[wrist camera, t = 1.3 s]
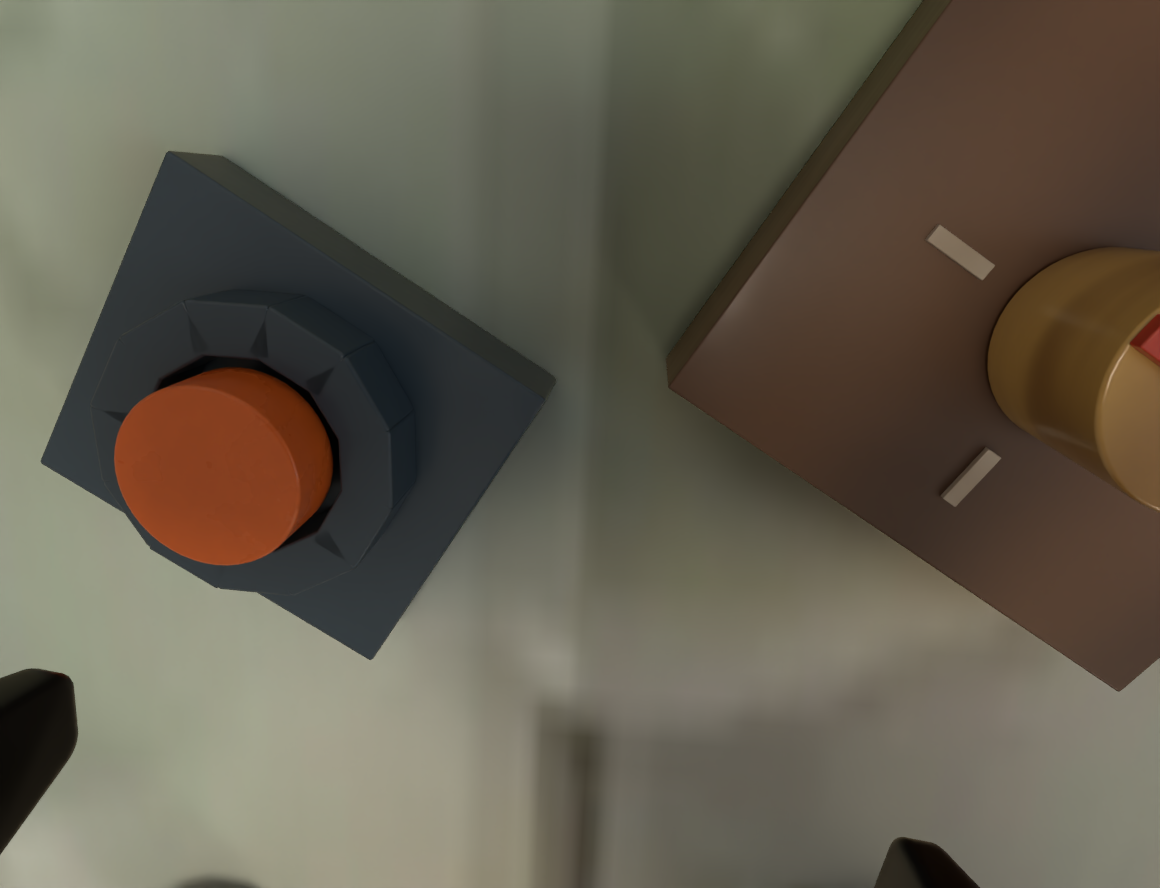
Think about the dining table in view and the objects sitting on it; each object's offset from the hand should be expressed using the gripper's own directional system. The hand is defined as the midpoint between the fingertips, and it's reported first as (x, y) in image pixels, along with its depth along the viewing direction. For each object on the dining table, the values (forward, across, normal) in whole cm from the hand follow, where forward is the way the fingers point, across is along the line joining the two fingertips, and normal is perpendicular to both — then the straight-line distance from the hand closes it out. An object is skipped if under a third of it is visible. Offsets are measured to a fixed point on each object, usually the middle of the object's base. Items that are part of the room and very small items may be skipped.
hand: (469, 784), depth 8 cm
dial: (+9, -10, -5) cm, 14 cm away
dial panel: (+12, -10, -5) cm, 17 cm away
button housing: (+12, +7, +1) cm, 14 cm away
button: (+9, +7, +1) cm, 11 cm away
